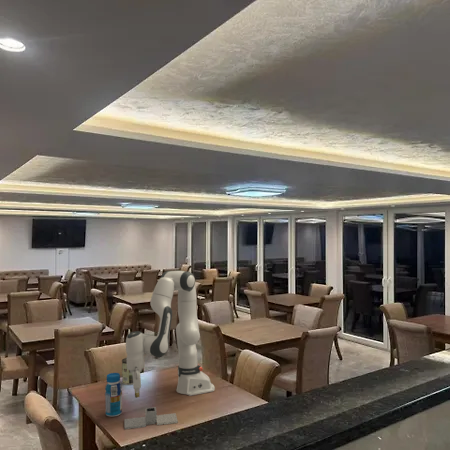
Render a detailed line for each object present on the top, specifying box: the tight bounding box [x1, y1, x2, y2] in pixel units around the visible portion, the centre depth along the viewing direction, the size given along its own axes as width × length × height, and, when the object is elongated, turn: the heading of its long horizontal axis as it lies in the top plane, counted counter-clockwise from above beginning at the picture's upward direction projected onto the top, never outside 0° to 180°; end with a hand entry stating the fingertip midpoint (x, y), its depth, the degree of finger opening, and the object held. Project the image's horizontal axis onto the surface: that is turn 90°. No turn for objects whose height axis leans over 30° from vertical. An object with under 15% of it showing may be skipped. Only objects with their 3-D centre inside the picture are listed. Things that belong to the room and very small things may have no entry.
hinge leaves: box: [124, 406, 179, 430], centre depth 206 cm, size 25×9×6 cm, turn 103°
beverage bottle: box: [104, 372, 123, 418], centre depth 216 cm, size 8×8×20 cm
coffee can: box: [121, 357, 133, 386], centre depth 263 cm, size 10×10×14 cm
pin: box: [134, 392, 140, 398], centre depth 215 cm, size 2×2×7 cm
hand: (137, 391), depth 215 cm, fingers closed on pin, 2 cm apart
